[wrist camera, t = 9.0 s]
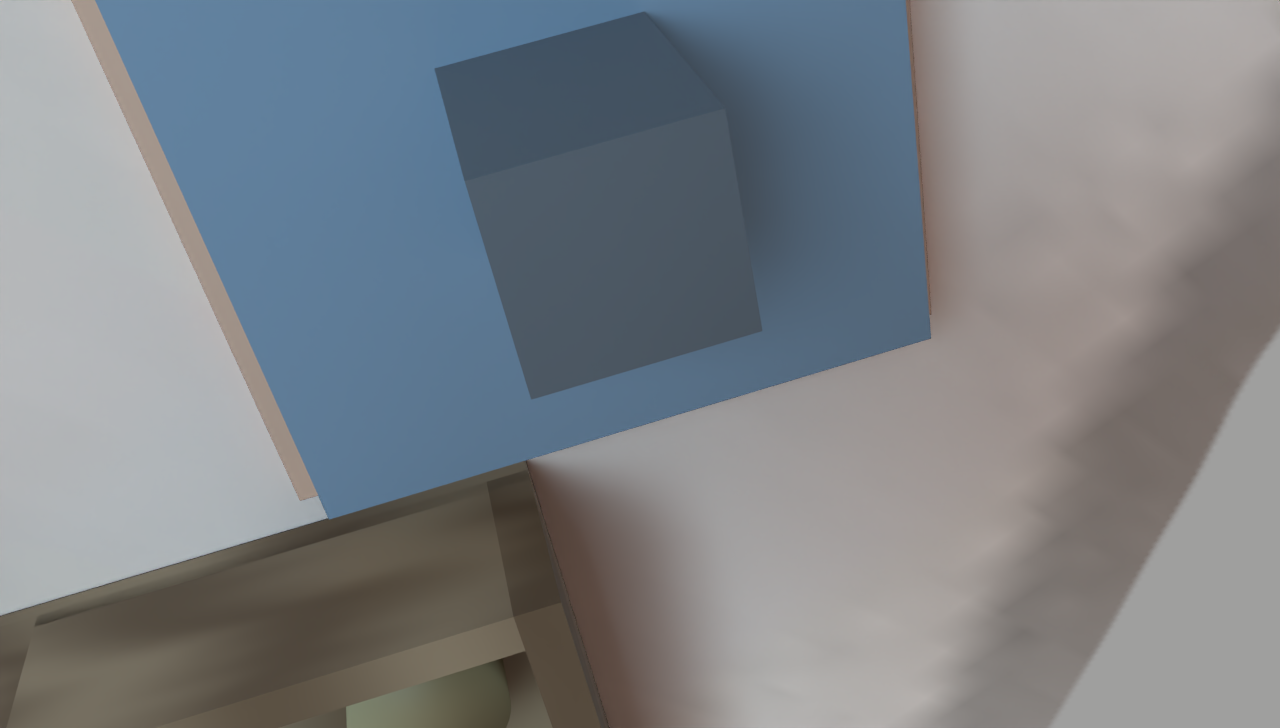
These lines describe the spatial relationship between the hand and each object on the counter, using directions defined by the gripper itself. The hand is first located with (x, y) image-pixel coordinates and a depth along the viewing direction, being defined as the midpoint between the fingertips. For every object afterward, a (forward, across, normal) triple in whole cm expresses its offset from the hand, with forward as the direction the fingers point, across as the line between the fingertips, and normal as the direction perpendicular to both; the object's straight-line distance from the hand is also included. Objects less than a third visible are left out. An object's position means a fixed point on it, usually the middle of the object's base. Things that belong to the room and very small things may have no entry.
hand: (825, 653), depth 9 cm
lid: (+12, 0, 0) cm, 12 cm away
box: (+13, +7, +12) cm, 19 cm away
